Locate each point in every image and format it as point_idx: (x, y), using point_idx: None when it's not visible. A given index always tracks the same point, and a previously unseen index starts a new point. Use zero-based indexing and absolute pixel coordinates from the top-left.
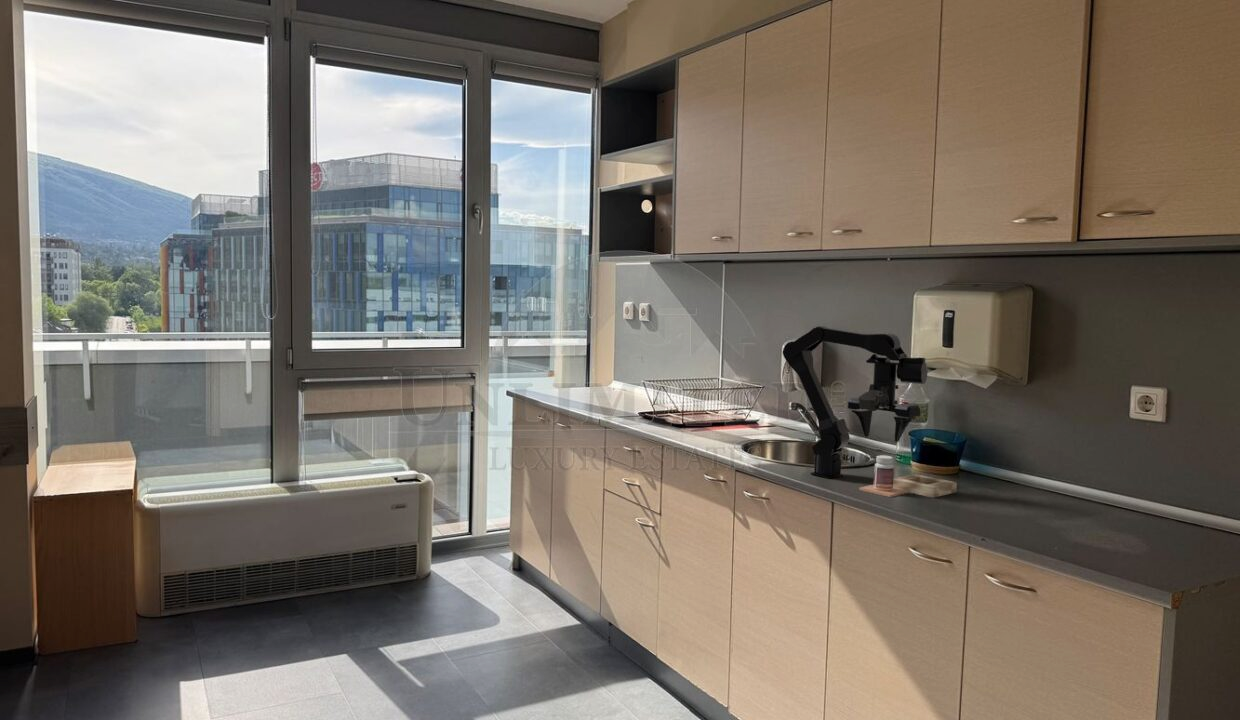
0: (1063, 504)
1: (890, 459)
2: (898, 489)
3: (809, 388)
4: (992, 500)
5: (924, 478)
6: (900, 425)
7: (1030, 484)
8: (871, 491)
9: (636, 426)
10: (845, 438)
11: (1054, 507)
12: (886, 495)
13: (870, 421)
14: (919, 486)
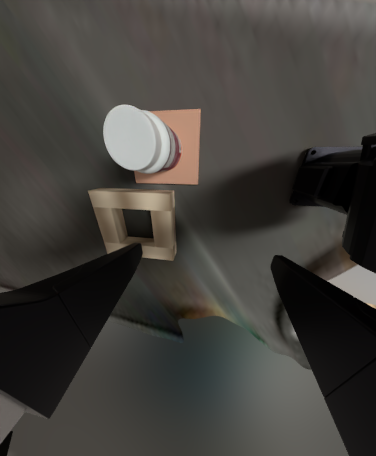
0: (47, 274)
1: (105, 134)
2: (149, 176)
3: None
4: (71, 239)
5: (147, 245)
6: (37, 282)
7: (116, 321)
8: (169, 110)
9: None
10: (371, 221)
11: (37, 258)
12: None
13: (307, 352)
14: (115, 191)
